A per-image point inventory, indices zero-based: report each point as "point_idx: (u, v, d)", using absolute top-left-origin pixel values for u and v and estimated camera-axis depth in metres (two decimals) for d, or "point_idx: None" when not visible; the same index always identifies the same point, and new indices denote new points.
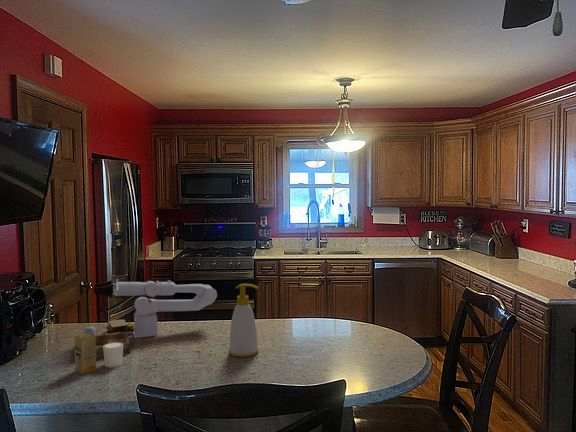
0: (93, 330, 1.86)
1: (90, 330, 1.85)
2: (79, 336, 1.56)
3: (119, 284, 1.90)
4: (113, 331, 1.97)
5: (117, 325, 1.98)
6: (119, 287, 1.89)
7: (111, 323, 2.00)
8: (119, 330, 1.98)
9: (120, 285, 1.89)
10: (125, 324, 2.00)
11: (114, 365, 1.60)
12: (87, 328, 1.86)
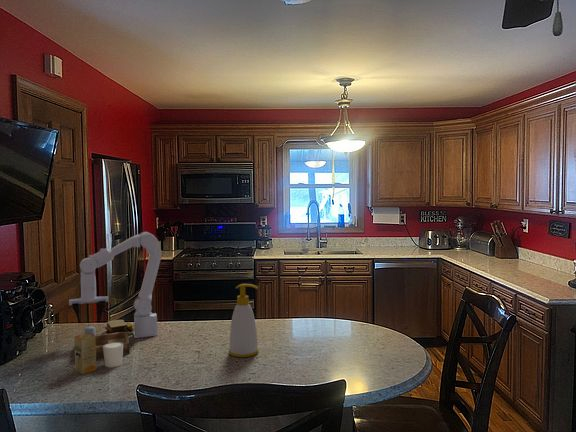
0: (93, 330, 1.86)
1: (90, 330, 1.85)
2: (79, 336, 1.56)
3: (93, 297, 1.85)
4: (112, 331, 1.96)
5: (116, 325, 1.98)
6: (95, 296, 1.86)
7: (110, 323, 1.99)
8: (118, 330, 1.98)
9: (94, 296, 1.85)
10: (124, 324, 2.00)
11: (114, 365, 1.60)
12: (87, 328, 1.86)
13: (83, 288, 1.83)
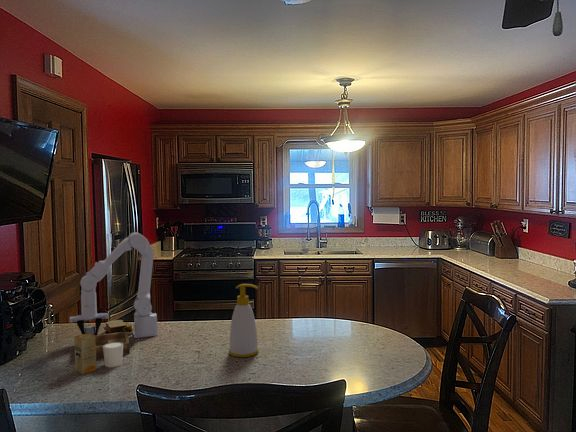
0: (93, 330, 1.86)
1: (90, 330, 1.85)
2: (79, 336, 1.56)
3: (94, 314, 1.85)
4: (111, 331, 1.96)
5: (115, 325, 1.97)
6: (96, 313, 1.86)
7: (109, 323, 1.99)
8: (117, 330, 1.98)
9: (95, 313, 1.85)
10: (123, 324, 2.00)
11: (114, 365, 1.60)
12: (87, 328, 1.86)
13: (84, 305, 1.83)
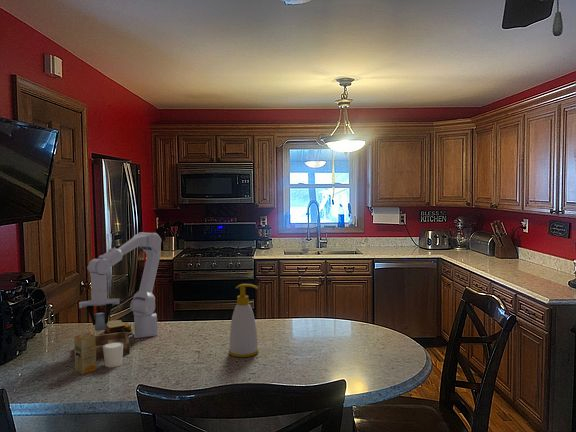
0: (104, 316, 1.78)
1: (101, 316, 1.77)
2: (79, 336, 1.56)
3: (104, 300, 1.77)
4: (110, 332, 1.96)
5: (114, 326, 1.97)
6: (106, 299, 1.78)
7: (108, 324, 1.98)
8: (116, 331, 1.97)
9: (105, 298, 1.77)
10: (122, 324, 1.99)
11: (114, 365, 1.60)
12: (97, 314, 1.78)
13: (97, 290, 1.75)
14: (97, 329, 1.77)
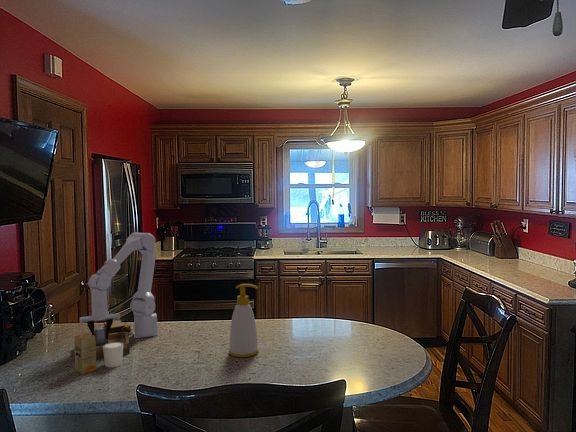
0: (104, 331, 1.78)
1: (101, 331, 1.77)
2: (79, 336, 1.56)
3: (104, 315, 1.77)
4: (110, 332, 1.96)
5: (114, 326, 1.97)
6: (107, 314, 1.79)
7: None
8: (116, 331, 1.97)
9: (105, 314, 1.78)
10: (122, 325, 1.99)
11: (114, 365, 1.60)
12: (98, 329, 1.78)
13: (98, 306, 1.76)
14: (97, 344, 1.77)
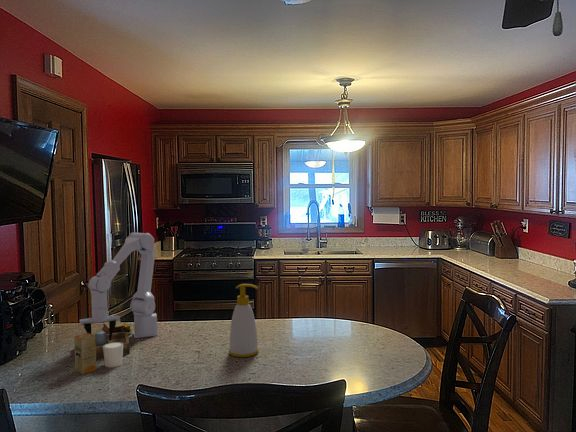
0: (104, 336, 1.78)
1: (101, 336, 1.77)
2: (79, 336, 1.56)
3: (105, 317, 1.77)
4: None
5: None
6: (107, 316, 1.79)
7: (107, 324, 1.98)
8: (115, 331, 1.97)
9: (106, 316, 1.78)
10: (121, 325, 1.99)
11: (114, 365, 1.60)
12: (98, 334, 1.78)
13: (98, 308, 1.76)
14: None
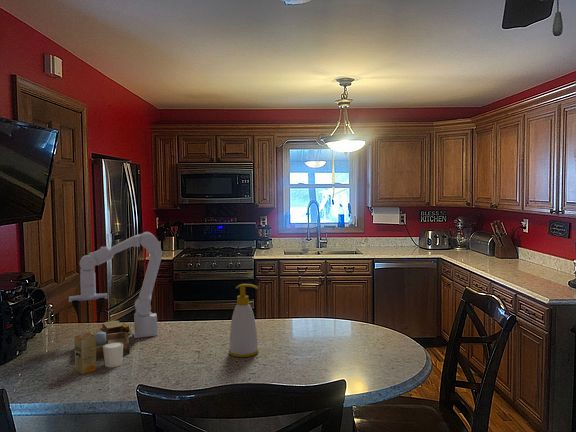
0: (104, 335, 1.78)
1: (101, 335, 1.77)
2: (79, 336, 1.56)
3: (93, 294, 1.86)
4: (108, 332, 1.95)
5: (112, 326, 1.96)
6: (95, 293, 1.87)
7: (106, 324, 1.98)
8: (114, 331, 1.97)
9: (94, 293, 1.86)
10: (120, 325, 1.99)
11: (114, 365, 1.60)
12: (98, 333, 1.78)
13: (82, 285, 1.84)
14: None
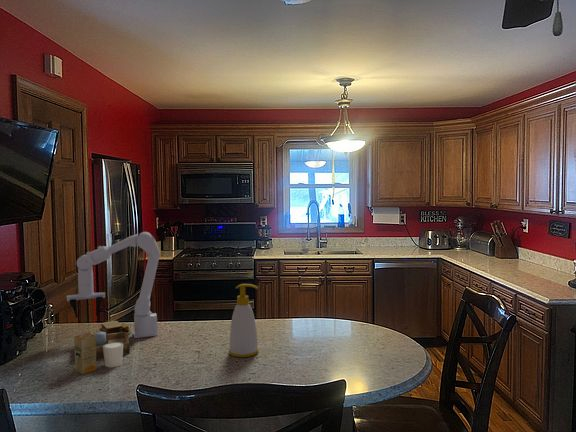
0: (104, 336, 1.78)
1: (101, 336, 1.77)
2: (79, 336, 1.56)
3: (90, 293, 1.88)
4: (108, 332, 1.95)
5: (112, 326, 1.96)
6: (93, 292, 1.89)
7: (105, 324, 1.97)
8: (114, 331, 1.96)
9: (91, 292, 1.88)
10: (119, 325, 1.98)
11: (114, 365, 1.60)
12: (98, 334, 1.78)
13: (80, 284, 1.86)
14: None
